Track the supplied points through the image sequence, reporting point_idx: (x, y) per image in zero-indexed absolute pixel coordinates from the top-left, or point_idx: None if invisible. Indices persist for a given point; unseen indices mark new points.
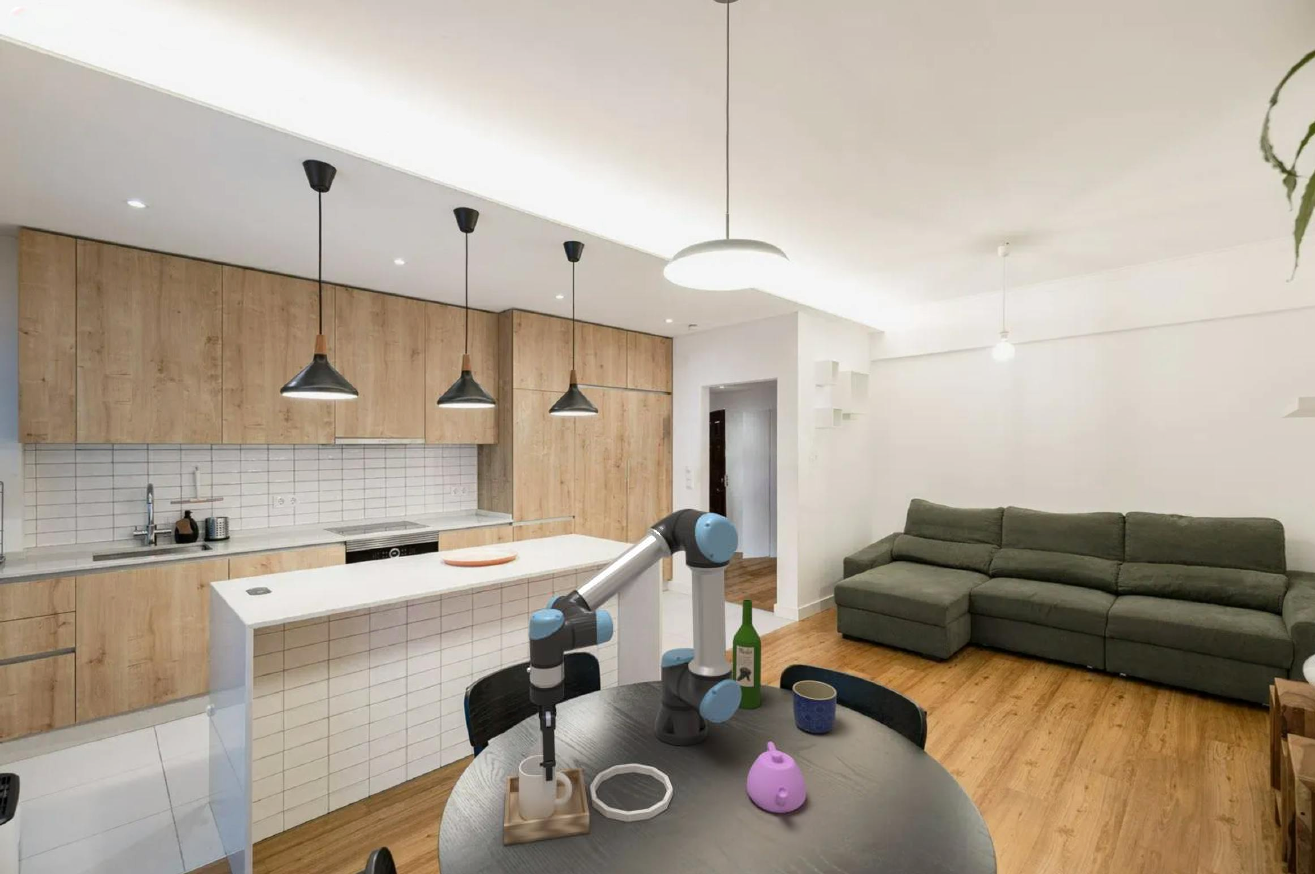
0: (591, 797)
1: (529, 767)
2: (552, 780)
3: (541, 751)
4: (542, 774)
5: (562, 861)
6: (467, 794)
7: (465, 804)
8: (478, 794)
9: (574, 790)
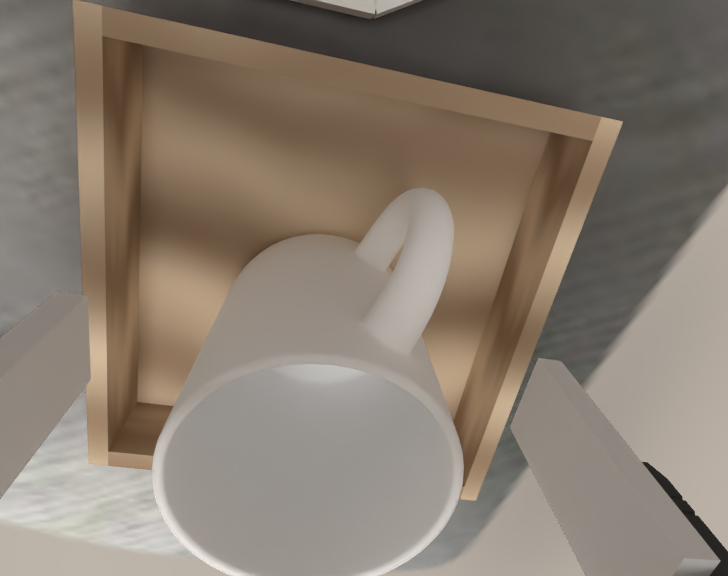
0: (320, 4)
1: (198, 464)
2: (646, 463)
3: (59, 416)
4: (564, 534)
5: (655, 272)
6: (97, 528)
7: (164, 534)
8: (106, 496)
9: (208, 90)
